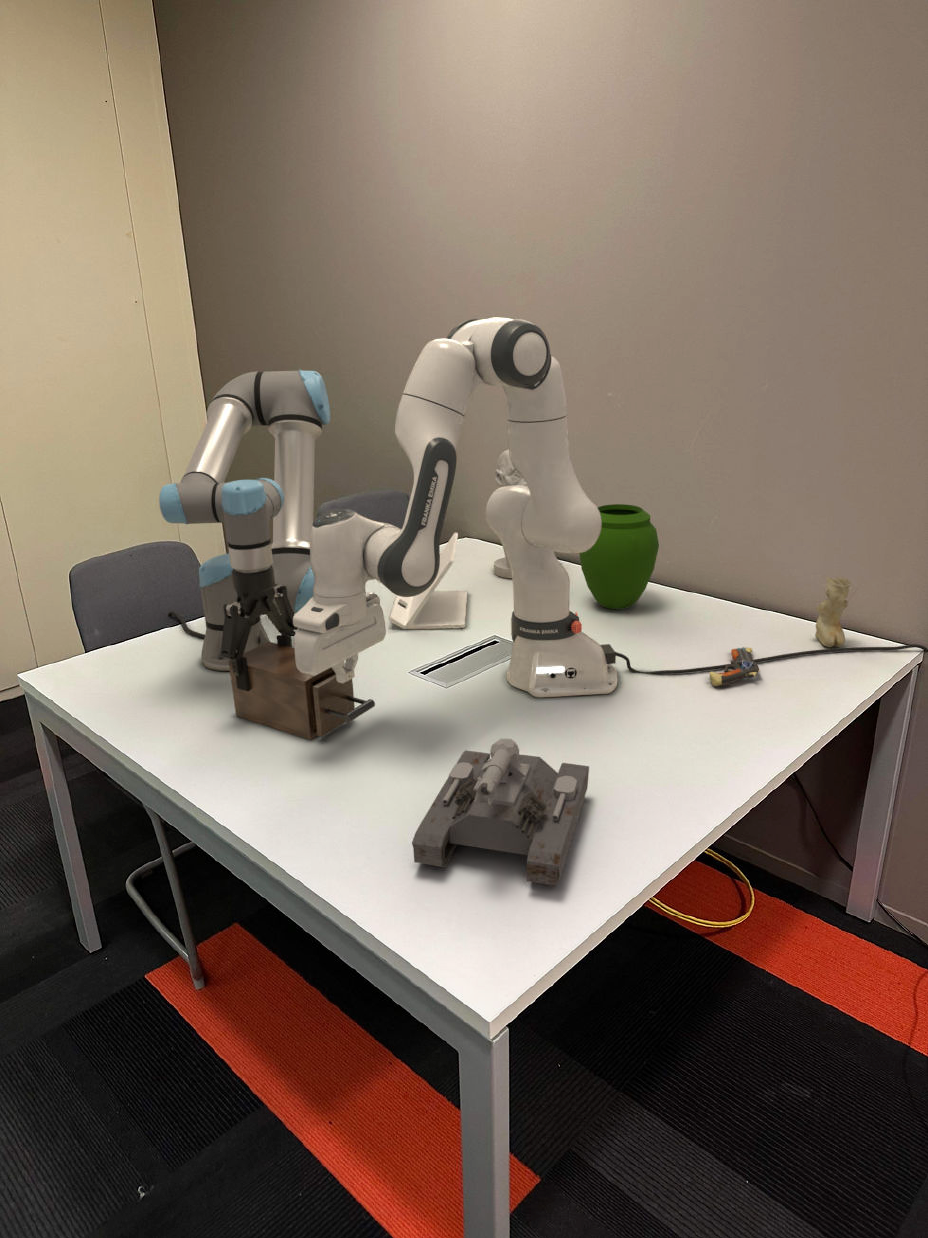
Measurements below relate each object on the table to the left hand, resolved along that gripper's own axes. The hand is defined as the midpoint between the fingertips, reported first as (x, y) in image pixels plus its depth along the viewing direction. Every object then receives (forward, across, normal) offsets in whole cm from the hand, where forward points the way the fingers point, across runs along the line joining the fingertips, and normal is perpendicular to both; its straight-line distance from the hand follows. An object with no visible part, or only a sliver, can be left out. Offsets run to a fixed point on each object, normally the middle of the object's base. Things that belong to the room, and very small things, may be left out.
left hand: (265, 678), depth 163 cm
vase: (+7, -86, +35) cm, 93 cm away
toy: (+7, +12, +60) cm, 61 cm away
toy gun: (+7, -61, +72) cm, 94 cm away
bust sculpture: (+7, -97, +3) cm, 97 cm away
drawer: (+6, 0, +12) cm, 13 cm away
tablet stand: (+7, -60, -4) cm, 61 cm away
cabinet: (+7, 0, +6) cm, 9 cm away
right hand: (-4, 0, +21) cm, 21 cm away
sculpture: (+7, -85, +85) cm, 120 cm away
